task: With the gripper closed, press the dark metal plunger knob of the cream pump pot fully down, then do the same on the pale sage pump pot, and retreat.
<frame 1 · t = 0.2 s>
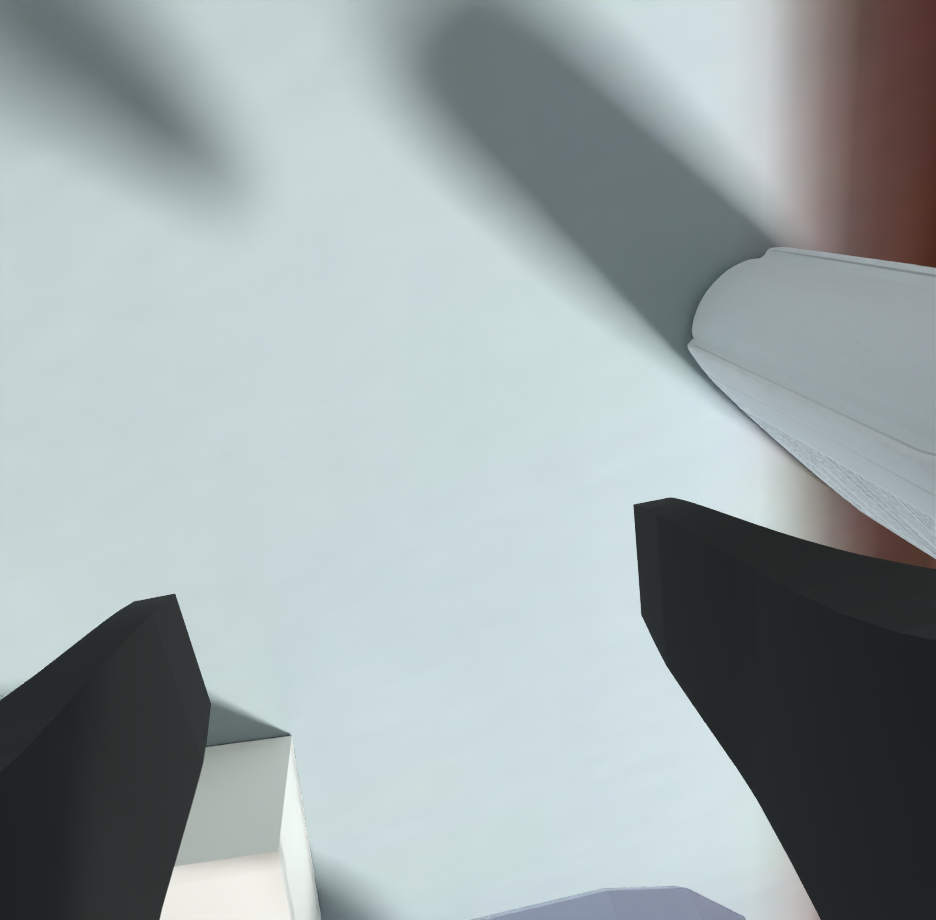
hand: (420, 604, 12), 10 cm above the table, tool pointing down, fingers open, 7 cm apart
photo printer: (817, 387, 23), on the table
pot a: (185, 848, 25), on the table
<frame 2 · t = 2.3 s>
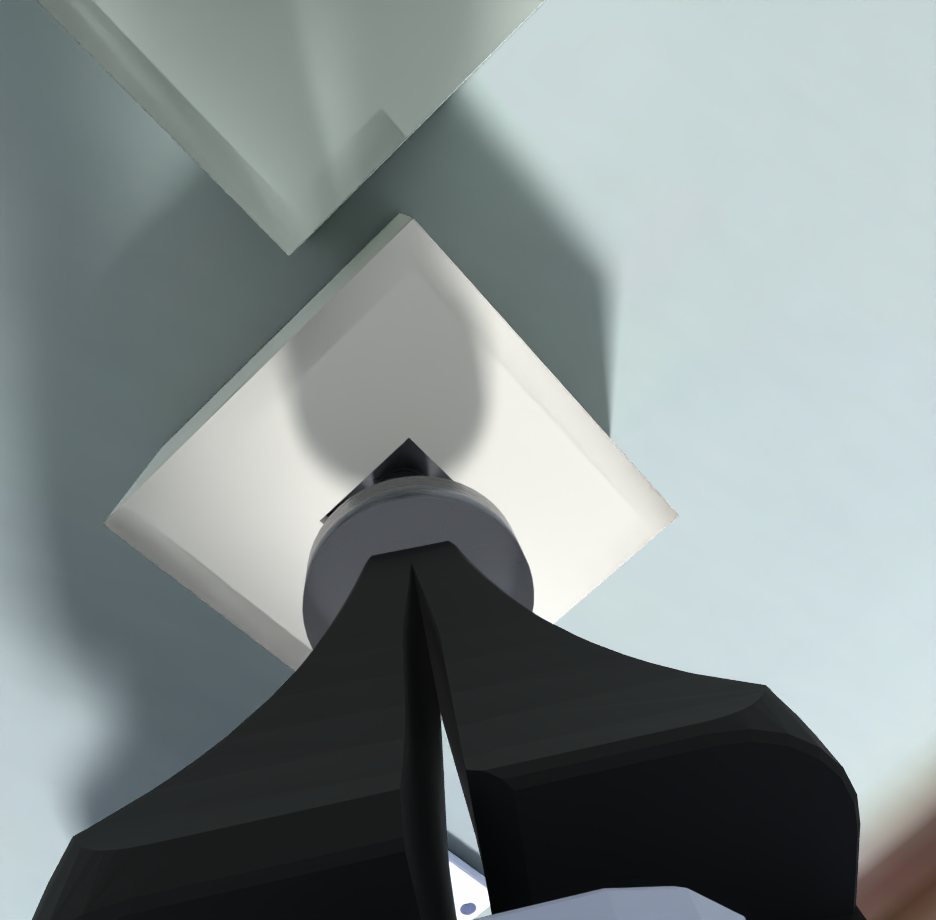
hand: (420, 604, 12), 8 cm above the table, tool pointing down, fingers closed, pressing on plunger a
plunger a: (409, 535, 14), point 5 cm above the table, slide at 0.7 cm, touching gripper
pot a: (396, 447, 19), on the table
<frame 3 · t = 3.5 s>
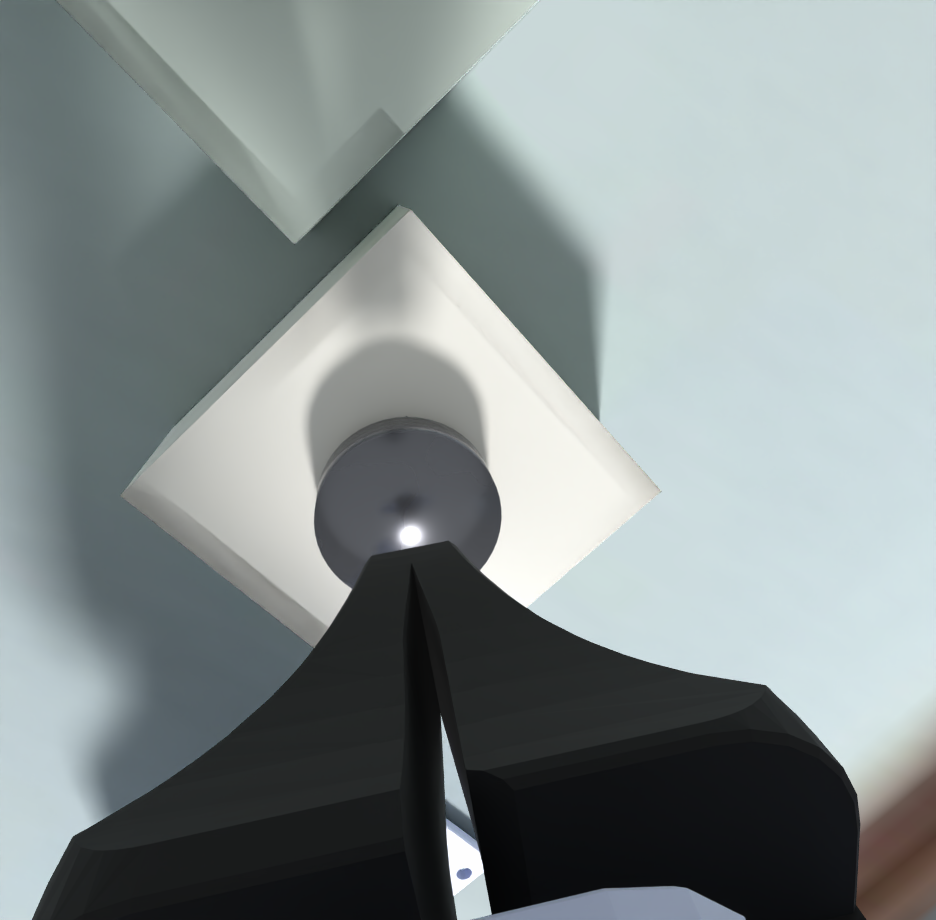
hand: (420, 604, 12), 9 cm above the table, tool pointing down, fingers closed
plunger a: (401, 473, 17), point 3 cm above the table, slide at 2.6 cm
pot a: (395, 429, 20), on the table
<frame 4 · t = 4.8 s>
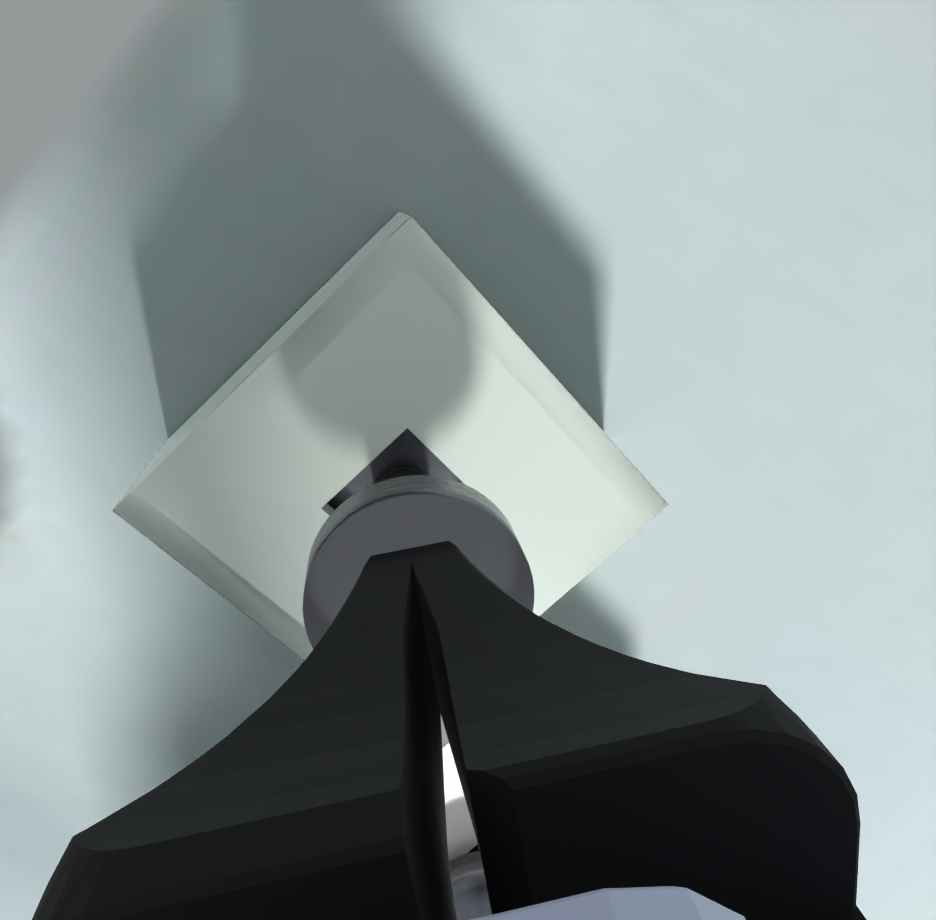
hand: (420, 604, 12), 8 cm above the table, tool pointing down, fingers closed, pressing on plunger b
plunger a: (474, 852, 20), point 3 cm above the table, slide at 2.6 cm
pot b: (395, 439, 19), on the table
plunger b: (409, 535, 14), point 6 cm above the table, slide at 0.1 cm, touching gripper
pot a: (458, 764, 23), on the table
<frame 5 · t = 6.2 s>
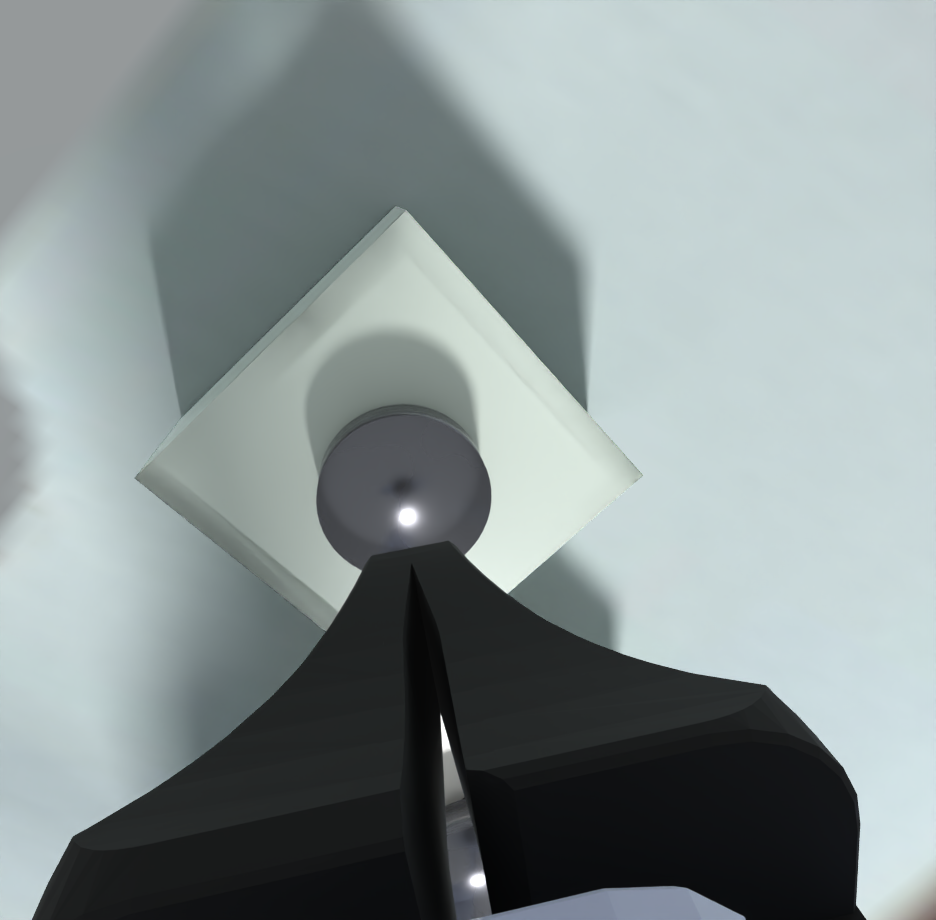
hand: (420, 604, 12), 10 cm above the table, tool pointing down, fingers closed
plunger a: (466, 804, 22), point 3 cm above the table, slide at 2.6 cm
pot b: (392, 419, 21), on the table
plunger b: (398, 459, 18), point 3 cm above the table, slide at 2.6 cm
pot a: (452, 727, 25), on the table
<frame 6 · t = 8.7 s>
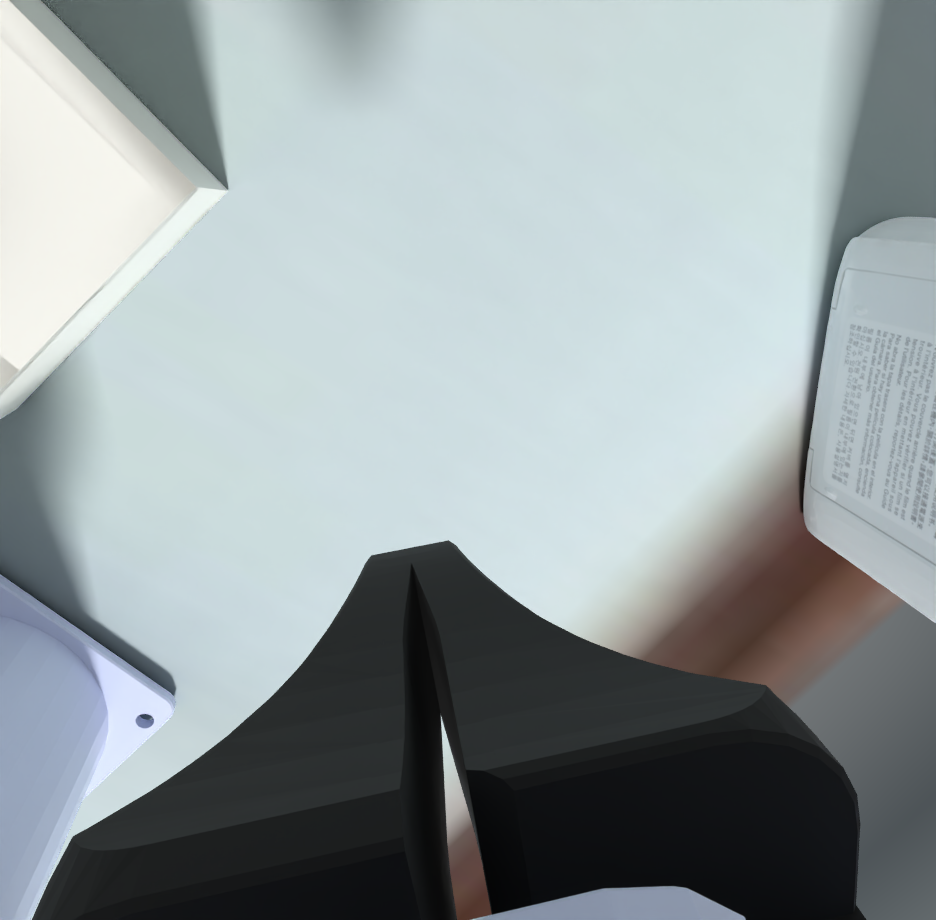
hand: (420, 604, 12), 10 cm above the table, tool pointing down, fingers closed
photo printer: (863, 387, 24), on the table
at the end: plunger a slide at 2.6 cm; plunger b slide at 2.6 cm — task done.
